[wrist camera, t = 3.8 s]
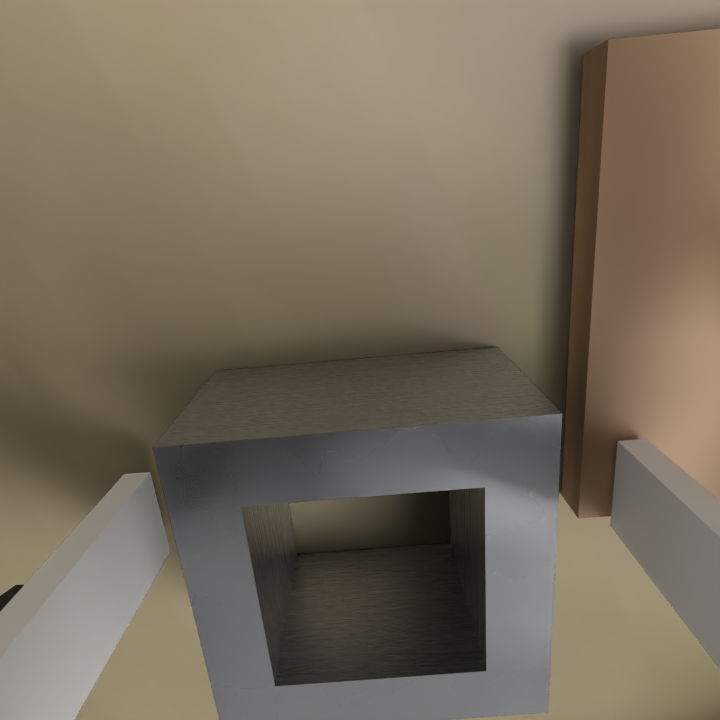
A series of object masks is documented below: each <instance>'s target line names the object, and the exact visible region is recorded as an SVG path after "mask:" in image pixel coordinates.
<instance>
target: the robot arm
mask: <svg viewBox="0 0 720 720" xmlns="http://www.w3.org/2000/svg"><path fill="white" fill-rule="evenodd" d="M610 526H611V527H612V528H613V530H614V531H615V532H616V534H617V535H618V536H619V537H620V539H621V540H622V541H623V543H624V544H625V545H626V547H627V548H628V549H629V551H630V552H631V553H632V555H633V556H634V557H635V558H636V560H637V561H638V562H639V564H640V565H641V566H642V568H643V569H644V570H645V572H646V573H647V574H648V576H649V577H650V578H651V579H652V581H653V582H654V583H655V585H656V586H657V587H658V589H659V590H660V591H661V593H662V594H663V595H664V597H665V598H666V599H667V600H668V602H669V603H670V604H671V606H672V607H673V608H674V610H675V611H676V612H677V614H678V615H679V616H680V617H681V619H682V620H683V621H684V623H685V624H686V625H687V627H688V628H689V629H690V631H691V632H692V633H693V635H694V636H695V637H696V638H697V640H698V641H699V642H700V644H701V645H702V646H703V648H704V649H705V650H706V652H707V653H708V654H709V656H710V657H711V658H712V659H713V661H714V662H715V663H716V665H717V666H718V667H719V669H720V500H718V499H717V498H716V497H715V496H714V495H712V494H711V493H710V492H709V491H708V490H706V489H705V488H704V487H703V486H702V485H700V484H699V483H698V482H697V481H696V480H695V479H693V478H692V477H691V476H690V475H689V474H687V473H686V472H685V471H684V470H683V469H681V468H680V467H679V466H678V465H677V464H675V463H674V462H673V461H672V460H671V459H670V458H668V457H667V456H666V455H665V454H664V453H662V452H661V451H660V450H659V449H658V448H656V447H655V446H654V445H653V444H652V443H650V442H649V441H648V440H647V439H637V440H623V441H618V443H617V455H616V466H615V478H614V489H613V501H612V512H611V524H610ZM169 553H170V548H169V544H168V540H167V536H166V532H165V528H164V524H163V520H162V517H161V513H160V509H159V505H158V501H157V497H156V493H155V489H154V485H153V481H152V477H151V473H150V472H145V473H130V474H124V475H123V476H122V477H121V478H120V479H119V480H118V481H117V483H116V484H115V485H114V486H113V487H112V488H111V489H110V490H109V491H108V493H107V494H106V495H105V496H104V497H103V498H102V499H101V500H100V501H99V503H98V504H97V505H96V506H95V507H94V508H93V509H92V510H91V511H90V513H89V514H88V515H87V516H86V517H85V518H84V519H83V520H82V521H81V523H80V524H79V525H78V526H77V527H76V528H75V529H74V530H73V532H72V533H71V534H70V535H69V536H68V537H67V538H66V539H65V540H64V542H63V543H62V544H61V545H60V546H59V547H58V548H57V549H56V550H55V552H54V553H53V554H52V555H51V556H50V557H49V558H48V559H47V560H46V562H45V563H44V564H43V565H42V566H41V567H40V568H39V569H38V570H37V572H36V573H35V574H34V575H33V576H32V577H31V578H30V579H29V580H28V582H27V583H26V584H25V585H15V586H14V587H12V588H11V589H10V590H8V591H7V592H5V593H4V594H3V595H1V596H0V720H74V719H75V718H76V716H77V714H78V712H79V711H80V709H81V707H82V705H83V704H84V702H85V700H86V698H87V697H88V695H89V693H90V691H91V690H92V688H93V686H94V684H95V683H96V681H97V679H98V677H99V676H100V674H101V672H102V670H103V669H104V667H105V665H106V663H107V662H108V660H109V658H110V656H111V655H112V653H113V651H114V649H115V648H116V646H117V644H118V642H119V640H120V639H121V637H122V635H123V633H124V632H125V630H126V628H127V626H128V625H129V623H130V621H131V619H132V618H133V616H134V614H135V612H136V611H137V609H138V607H139V605H140V604H141V602H142V600H143V598H144V597H145V595H146V593H147V591H148V590H149V588H150V586H151V584H152V583H153V581H154V579H155V577H156V576H157V574H158V572H159V570H160V569H161V567H162V565H163V563H164V562H165V560H166V558H167V556H168V555H169Z"/></svg>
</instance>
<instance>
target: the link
mask: <svg viewBox="0 0 720 720" xmlns="http://www.w3.org/2000/svg"><path fill="white" fill-rule="evenodd" d="M561 431H562V413H561V412H560V411H559V410H558V409H557V408H556V407H555V406H554V405H553V404H552V403H551V402H550V401H549V400H548V398H547V397H546V396H545V395H544V394H543V393H542V392H541V391H540V390H539V389H538V388H537V387H536V386H535V385H534V384H533V383H532V382H531V381H530V380H529V379H528V378H527V377H526V376H525V375H524V374H523V373H522V372H521V371H520V370H519V369H518V368H517V367H516V366H515V364H514V363H513V362H512V361H511V360H510V359H509V358H508V357H507V356H506V355H505V354H504V353H503V352H502V351H501V350H500V349H499V348H498V347H491V348H480V349H468V350H456V351H444V352H433V353H421V354H409V355H398V356H386V357H374V358H362V359H351V360H339V361H327V362H315V363H304V364H292V365H280V366H268V367H257V368H245V369H233V370H222V371H215V372H214V374H213V375H212V376H211V377H210V378H209V380H208V381H207V382H206V383H205V384H204V386H203V387H202V388H201V389H200V390H199V392H198V393H197V394H196V395H195V396H194V398H193V399H192V400H191V401H190V403H189V404H188V405H187V406H186V407H185V409H184V410H183V411H182V412H181V413H180V415H179V416H178V417H177V418H176V419H175V421H174V422H173V423H172V424H171V425H170V427H169V428H168V429H167V430H166V432H165V433H164V434H163V435H162V436H161V438H160V439H159V440H158V441H157V442H156V444H155V445H154V446H153V447H152V448H153V452H154V456H155V460H156V464H157V468H158V473H159V477H160V481H161V485H162V489H163V493H164V497H165V501H166V505H167V509H168V513H169V517H170V521H171V525H172V529H173V533H174V537H175V541H176V545H177V549H178V553H179V557H180V562H181V566H182V570H183V574H184V578H185V582H186V586H187V590H188V594H189V598H190V602H191V606H192V610H193V614H194V618H195V622H196V626H197V630H198V634H199V638H200V642H201V646H202V651H203V655H204V659H205V663H206V667H207V671H208V675H209V679H210V683H211V687H212V691H213V695H214V699H215V703H216V707H217V711H218V715H219V719H220V720H451V719H465V718H479V717H493V716H508V715H522V714H536V713H548V706H549V685H550V664H551V642H552V621H553V600H554V579H555V558H556V537H557V515H558V494H559V473H560V452H561ZM444 490H449V507H450V536H451V543H443V544H430V545H417V546H404V547H391V548H378V549H365V550H352V551H340V552H327V553H314V554H301V555H297V551H296V545H295V538H294V532H293V525H292V519H291V512H290V506H289V503H293V502H306V501H318V500H331V499H343V498H356V497H369V496H381V495H394V494H406V493H419V492H431V491H444Z"/></svg>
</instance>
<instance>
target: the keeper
mask: <svg viewBox="0 0 720 720" xmlns="http://www.w3.org/2000/svg"><path fill="white" fill-rule="evenodd" d="M637 439H647V440H648V441H649V442H650V443H652V444H653V445H654V446H655V447H656V448H658V449H659V450H660V451H661V452H662V453H664V454H665V455H666V456H667V457H668V458H670V459H671V460H672V461H673V462H674V463H675V464H677V465H678V466H679V467H680V468H681V469H683V470H684V471H685V472H686V473H687V474H689V475H690V476H691V477H692V478H693V479H695V480H696V481H697V482H698V483H699V484H700V485H702V486H703V487H704V488H705V489H706V490H708V491H709V492H710V493H711V494H712V495H714V496H715V497H716V498H717V499H718V500H720V29H709V30H699V31H689V32H679V33H668V34H658V35H648V36H637V37H627V38H617V39H608V40H607V41H605V42H604V43H602V44H600V45H599V46H597V47H596V48H594V49H593V50H591V51H590V52H588V53H586V54H585V55H583V72H582V92H581V112H580V132H579V152H578V172H577V193H576V213H575V233H574V253H573V273H572V293H571V314H570V334H569V354H568V374H567V394H566V414H565V435H564V455H563V475H562V496H563V497H564V499H565V500H566V502H567V503H568V504H569V506H570V507H571V509H572V510H573V512H574V513H575V514H576V516H577V517H578V518H590V517H603V516H611V512H612V501H613V489H614V478H615V466H616V455H617V443H618V441H623V440H637Z"/></svg>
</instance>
